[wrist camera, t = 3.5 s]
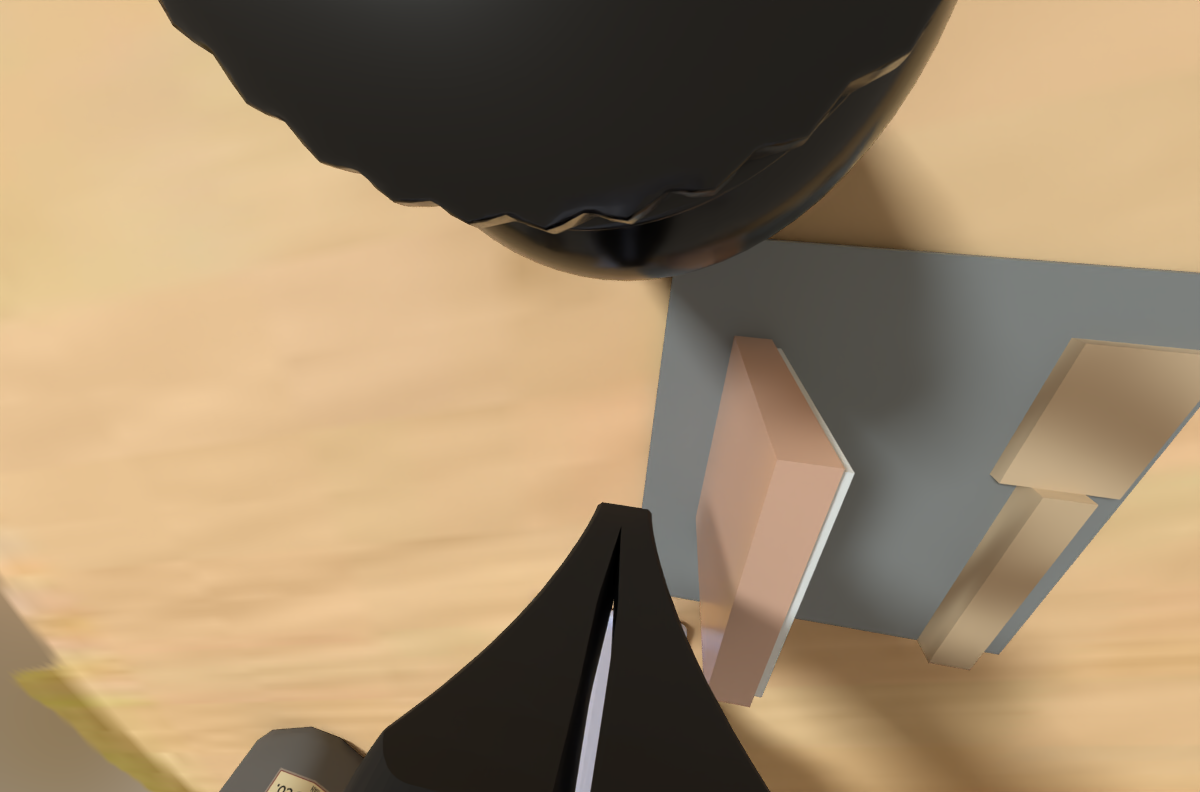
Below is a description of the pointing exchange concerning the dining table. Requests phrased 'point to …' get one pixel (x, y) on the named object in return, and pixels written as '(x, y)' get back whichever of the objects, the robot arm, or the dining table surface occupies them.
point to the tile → (761, 516)
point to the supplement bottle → (583, 110)
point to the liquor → (295, 763)
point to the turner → (1063, 478)
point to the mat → (895, 401)
